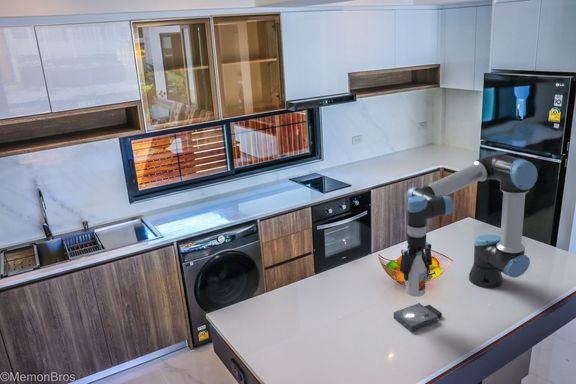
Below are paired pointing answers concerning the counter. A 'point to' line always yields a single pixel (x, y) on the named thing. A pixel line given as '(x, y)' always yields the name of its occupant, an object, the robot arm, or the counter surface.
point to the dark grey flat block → (417, 316)
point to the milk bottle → (417, 276)
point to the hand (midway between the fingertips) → (415, 283)
